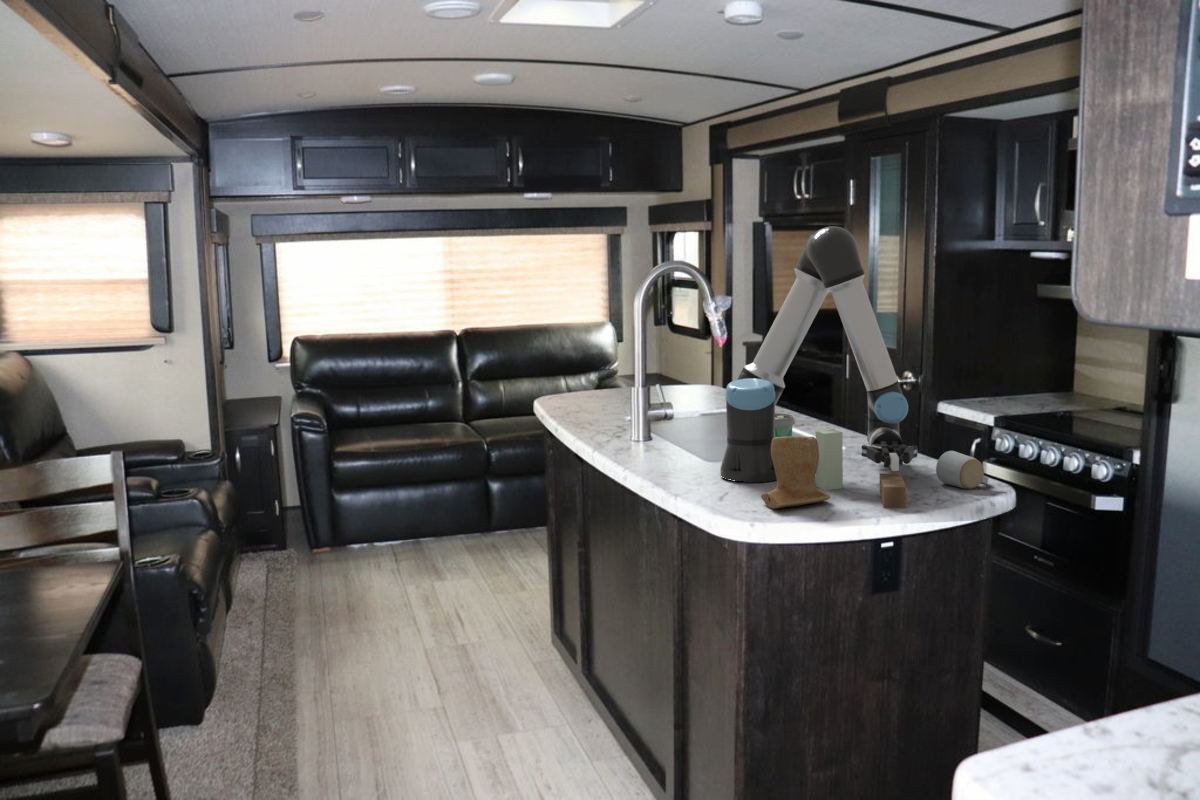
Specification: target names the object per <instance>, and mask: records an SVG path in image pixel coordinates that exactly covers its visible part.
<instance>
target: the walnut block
mask: <svg viewBox="0 0 1200 800" xmlns="http://www.w3.org/2000/svg"><path fill="white" fill-rule="evenodd" d="M879 495H880V499H881V500H880V501H881V503H882V507H883V509H907V486H906V483H905V481H904V479H903V476H902V473H900V472H879Z"/></svg>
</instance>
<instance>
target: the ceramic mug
mask: <svg viewBox="0 0 1200 800" xmlns="http://www.w3.org/2000/svg"><path fill="white" fill-rule="evenodd" d="M935 471H936V476H937V478H938V480H939V481H940V482H941V483H942V484H945V485H949V486H952V487H953V486H954V487H958V488H961V489H964V490H972V489H975V488H977V487H979V485H980V484H982V485H987V484H988V482H989V477H987V476H985V468H984V466H983V463H982V462H981V461H980V460H978V459H977V458H975V457H973V456H970V455H968V454H967V455H966V454H964V453H960V452H958V451H955V450H949V451H948V450H947V451H945V452H944V453H943V454H941V456H939V458H938V459H937V463H936V467H935Z"/></svg>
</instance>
